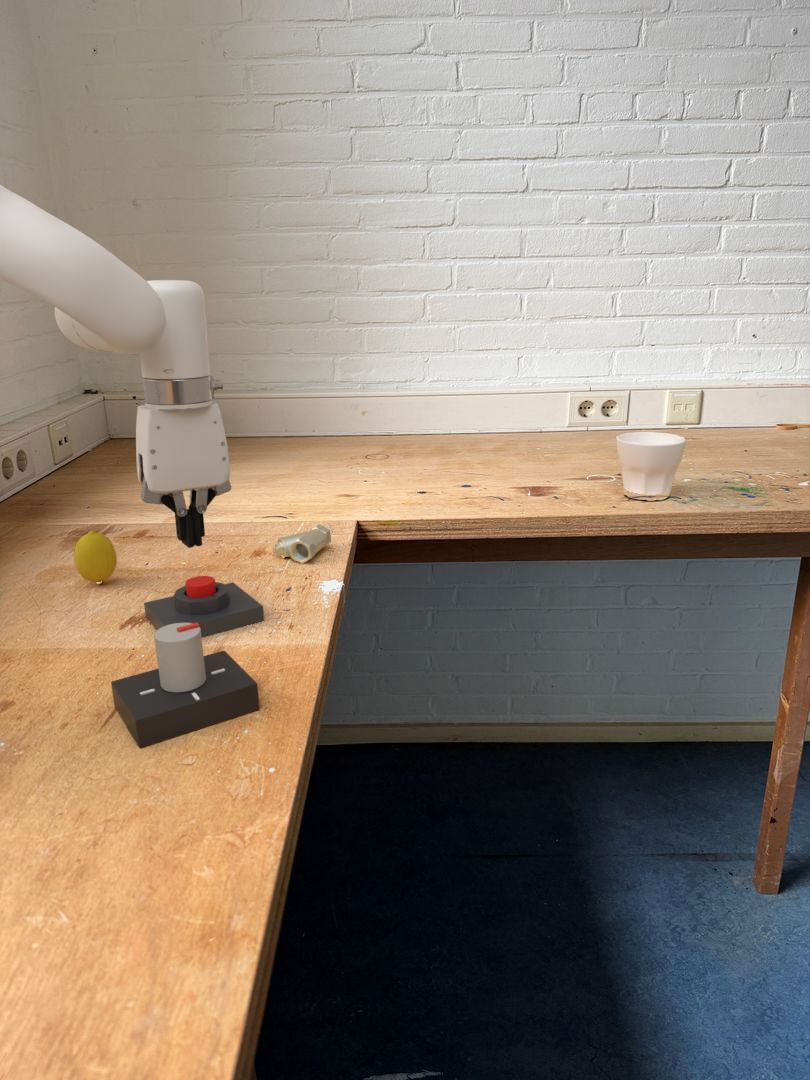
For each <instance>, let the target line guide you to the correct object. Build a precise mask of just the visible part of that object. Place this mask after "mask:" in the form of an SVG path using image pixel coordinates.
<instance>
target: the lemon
mask: <svg viewBox="0 0 810 1080" xmlns="http://www.w3.org/2000/svg"><path fill="white" fill-rule="evenodd" d="M117 557H118V556H117V552H116V549H115V547H114V544H113V543H112V541H111V539H110V538H109V537H107V536H106V535H105V534H102V533H100V532H96V531H95V530H89V531H88V533H86V534H84V535H82V536H81V537H80V538H79V539H78V540H77V542H76V544H75V547H74V554H73V558H74V559H73V560H74V565H75V568H76V570H77V572H78V573H79V575H80V576H81V578H83V579H85V580H86V581H89V582H93V583H95V582H101V581H104V582H105V580H108V579H109V578H110V577H112V575H113V574H114V573H115V570H116V567H117V562H118V561H117V560H118V558H117Z"/></svg>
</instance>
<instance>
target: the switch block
mask: <svg viewBox="0 0 810 1080" xmlns="http://www.w3.org/2000/svg"><path fill="white" fill-rule="evenodd" d="M215 585H216V593H215V594H213V595H211V596H207V597H203V598H192V597H188V596H187V593H186V584H185V585H183V586H181V587H179V588H178V589H176V590H175V591H174V594H173V595H171V596H168V597H163V598H159V599H155V600H149V601H146V602H144V603H143V607H144V614H145V615H144V616H145V619H146V618H147V619H148V620H149V621H150V622H149V621H148V620H147V619H146V620H147V621H148V622H149V623H150V625H151V624H152V625H153V626H154V627H153V626H152V625H151V626H152V627H153V628H154V629H155V630H156V631H157V630H158V629H160V628H162V627H164V626H167V625H170V624H175V623H193V624H194V623H198V624H199V626H200V629H201V638H202V639H203V638H206V637H211V636H214V635H217V634H221V633H225V632H229V631H233V630H236V629H237V630H238V629H240V628H244V626H245V627H248V626H247V625H249V626H252V625H256V624H259V622H260V623H263V622H262V621H264V622H265V615H264V614H265V613H264V605H262V604H261V603H260V602H258V600H256V599H255V598H254V597H252V596H251V595H250V594H248V593H247V592H246V591H245V590H243V589H242V588H241V587H240V586H239V585H237V584H236V583H235V582H234V581H233V582H228V583H223V582H218V581H215ZM255 623H256V624H255ZM251 624H252V625H251Z"/></svg>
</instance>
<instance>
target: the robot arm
mask: <svg viewBox="0 0 810 1080" xmlns="http://www.w3.org/2000/svg"><path fill="white" fill-rule="evenodd" d="M0 281H2V282H4V283H7V284H9V285H10V284H11V285H13V286H15V287H17V288H18V289H21V290H23V291H25V292H27V293H29V294H31V295H33V296H35V297H37V298H38V299H41V300H42V301H44V302H45V303H47V304H49V305H50V306H52V307H54V318H55V321H56V324H57V326H58V328H59V330H60V331H61V333H62V334H63V335H64V336H65V337H66V338H67V339H68V340H69V341H70V342H72V344H73V343H74V344H75V345H76V346H79V347H81V348H84V349H87V350H92V351H97V352H104V353H116V354H123V355H138V354H139V357H140V368H141V376H142V387H143V395H144V396H143V397H144V398H143V399H144V404H141V405H140V404H139V405H138V406H137V410H136V421H135V422H136V424H135V449H136V450H135V454H136V455H135V457H136V458H135V459H136V472H137V479H138V483H139V484H140V485H141V492H140V499H141V501H142V502H144V503H145V504H149V505H164V506H166V508H167V509H169V510H170V511H172V512H173V513H174V521H175V532H176V538H177V540H178V541H181V543H182V544H183V545H184V546H185V547H187V548H188V549H191V548H194V547H195V546H196V547H202V546H203V537H205V536H206V531H205V530H206V529H205V518H204V514H205V513H206V512H207V509H208V506H210V504H211V503H212V502H213V500H214V499H215V498H216V497H219V496H221V495H224V494H226V493H229V492H231V490H232V485H231V482H230V479H231V462H230V454H229V447H228V446H229V445H228V441H227V436H226V430H225V426H224V421H223V418H222V417H223V416H222V414H221V410H220V407H219V404H218V402H217V401H214V400H213V399H214V398H215V396H214V395H215V393H217V392H222V391H223V389H224V385H223V380H222V379H216V378H213V375H211V366H210V354H209V353H210V352H209V340H208V328H207V315H206V302H205V295H204V291H203V289H202V287H201V285H200V284H198V283H197V282H195V281H192V280H184V279H183V280H182V279H157V280H156V279H155V280H154V279H153V280H146V279H145V278H143V277H142V276H141V275H140V274H139V273H138V272H136V271H135V270H134V269H132V268H131V267H130V266H129V265H127V264H126V263H125V262H124V261H122V260H120V258H118V257H117V256H116V255H114V254H113V253H112V252H110V251H109V250H108V249H106V248H105V247H104V246H102V245H101V244H100V243H99V242H97V241H95V240H94V239H92V238H91V237H90V236H88V235H86V234H85V233H83V232H82V231H80V230H79V229H78V228H75V227H74V226H72V225H70V224H69V223H67V222H65V221H63V220H62V219H60V218H58V217H57V216H54V215H52V214H51V213H49V212H47V211H46V210H44V209H43V208H41V207H39V206H38V205H36V204H35V203H33V202H31V201H30V200H28V199H26V198H24V197H23V196H21V195H19V194H17V193H15V192H13V191H12V190H10V189H8V188H6V187H5V186H4V185H2V184H1V183H0ZM186 491H189V505H188V507H187V503H186V499H185V495H184V492H186Z"/></svg>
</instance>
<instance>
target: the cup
mask: <svg viewBox="0 0 810 1080" xmlns="http://www.w3.org/2000/svg"><path fill="white" fill-rule="evenodd" d="M615 438H616V449H617V460H618V461H619V463H620V469H621V477H622V485H623V489H624V488H625V489H626V490H627V491H629V492H633V493H638V494H644V495H645V494H646V495H650V494H651V495H656V494H664V493H667V492H669V491H671V490H672V487H673V484H674V480H675V476H676V474H677V469H678V468H679V466H680V465H681V463H682V460H683V456H684V452H685V447H686V443H687V440H686V439H685V437H684V436H681V435H678V434H674V433H667V432H657V431H633V432H625V433H620V434H619V435H617V436H615ZM671 492H672V491H671Z"/></svg>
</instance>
